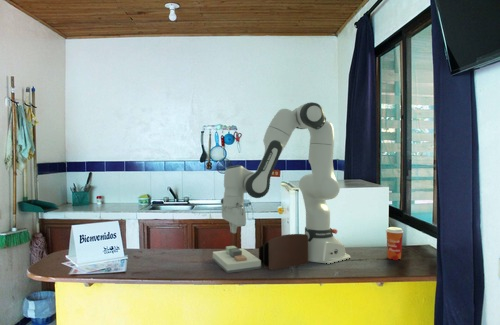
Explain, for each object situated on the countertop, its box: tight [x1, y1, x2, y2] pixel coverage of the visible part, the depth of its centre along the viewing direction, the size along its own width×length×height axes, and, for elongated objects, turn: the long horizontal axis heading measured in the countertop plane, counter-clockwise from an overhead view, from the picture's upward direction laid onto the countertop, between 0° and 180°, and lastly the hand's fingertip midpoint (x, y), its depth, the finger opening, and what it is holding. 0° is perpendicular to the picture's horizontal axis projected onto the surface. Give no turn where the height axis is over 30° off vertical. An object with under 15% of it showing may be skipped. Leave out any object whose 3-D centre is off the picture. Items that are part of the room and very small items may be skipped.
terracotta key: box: [234, 255, 247, 262], centre depth 151 cm, size 4×4×3 cm
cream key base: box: [212, 248, 262, 274], centre depth 156 cm, size 15×20×4 cm
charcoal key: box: [230, 248, 242, 258], centre depth 156 cm, size 4×4×3 cm
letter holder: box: [258, 233, 309, 271], centre depth 156 cm, size 10×20×14 cm, turn 115°
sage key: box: [225, 245, 238, 255], centre depth 161 cm, size 4×4×3 cm
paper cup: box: [385, 226, 405, 261], centre depth 165 cm, size 8×8×14 cm
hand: (233, 232), depth 158 cm, fingers closed
